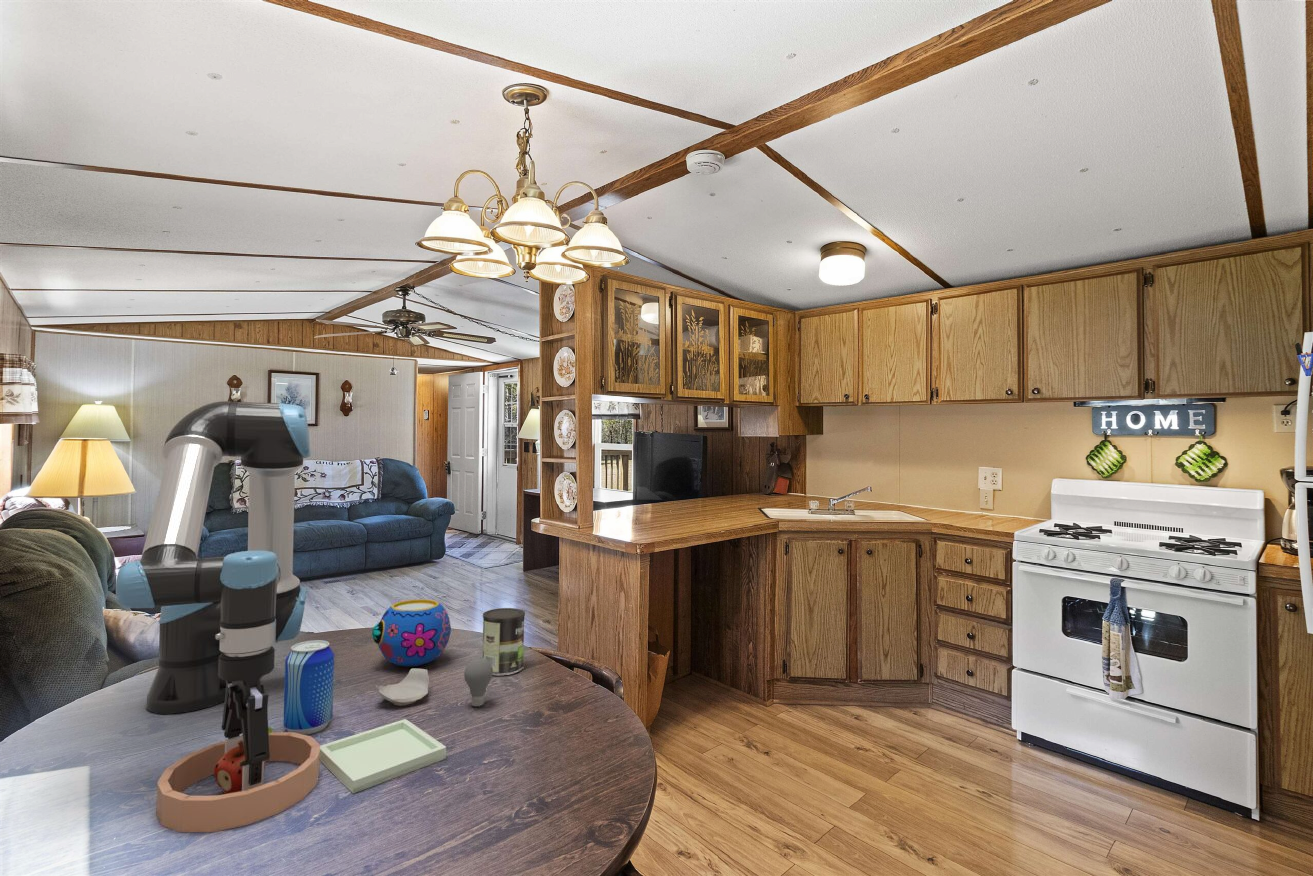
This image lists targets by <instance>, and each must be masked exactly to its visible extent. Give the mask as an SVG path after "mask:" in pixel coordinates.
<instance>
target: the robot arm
mask: <svg viewBox="0 0 1313 876" xmlns="http://www.w3.org/2000/svg"><path fill="white" fill-rule="evenodd" d="M306 412H307V411H306V410H305V409H304V407H302V406H300V405H297V404H288V403H282V402H279V403H278V402H253V401H252V402H249V401H247V402H246V401H230V400H229V401H227V400H225V401H224V400H222V401H214V402H210V403H207V404H204V405H202V406H200V407H198V408H196V409H194V410H192V411H191V412H189V413H188V414H186V415H185V416H183V417H182V418H180V420H179V421H178V422H177V423H176V424H175V425H174V426H173V427H172V429H171V430H170V431H169V433H168V435H167V436H166V439H165V441H164V445H163V449H162V456H163V458H164V460H165V461H166V463H165V466H164V470H163V474H162V477H161V482H160V485H159V490H158V491H157V492H158V493H157V496H156V501H155V503H154V508H153V512H152V516H151V519H150V524H149V526H148V530H147V534H146V539H145V541H144V545H143V549H142V553H141V558H140V560H138V559H137V560H135V561H128V562H125V563H123V564H122V565H121V567H120V568H119V569H118V572H117V575H116V576H117V577H116V582H115V597H116V601H117V604H118V606H120V607H121V608H124V609H155V608H159V607H160V613H159V614H160V616H159V617H160V618H159V620H158V624H159V643H158V644H159V645H158V668H157V671H156V674H155V676H154V678H153V681H152V683H151V685H150V688H149V690H148V693H147V695H146V705H145V708H146V710H147V711H148V712H151V713H154V714H167V715H169V714H181V713H187V712H193V711H198V710H202V709H206V708H210V707H212V706H216V705H218V704H220V703H222V702H223V712H222V719H221V728H220V729H221V730H222V731H224V733H223V737H224V738H225V739H224V741H225V754H226V753H227V752H228V751H229V750H231V749H233V748H235V747H237V746H239V745H238V742H239V741H240V740H242V741H243V743H244V744H243V745H244V752H245V761H243V762H241V763H240V766H241V767H242V766H243V771H242V791H246V790H249V789H252V788H255V787H258V786H261V785H264V784H265V783H264V781H265V779H264V777H265V768H264V761H265V760H268V759H269V758H270V753H269V734H268V727H269V720H268V719H269V717H268V704H269V703H268V702H269V694H268V692H267V691H266V692H265V689H264V684H261V679H262V678H263V677H265V676H266V675H268V674H271V672H272V671H273V670H274V669H275V654H276V653H275V651H276V649H275V647H273V646H274V645H275V644H276V643H278V642H285V641H290V640H293V639H296V637H298V635H299V634H300V632H301V628H302V623H303V619H304V612H305V604H306V599H307V587H304V586H300V585H301V583H300V582H301V580H300V579H299V578H298V576H296V575H294V574H293V568H294V567H293V566H294V565H293V563H294V530H295V529H294V527H295V526H294V521H295V487H296V485H295V484H296V473H297V471H298V470H300V469H301V468H302V467H303V466H304V459H307V458H310V457H311V452H312V451H311V445H310V444H311V443H310V442H311V441H310V433H309V431H310V430H309V423H308V419H307V413H306ZM223 457H236V458H237V457H238V458H239V457H240V467H241V468H243V469H244V470H245V471H247V473H248V517H247V518H248V522H247V523H248V524H247V525H248V526H247V527H248V530H247V531H248V532H247V533H248V534H247V550H245V551H237V552H233V553H230V554H229V553H228V554H227V555H225V556H220V557H219V556H217V557H214V556H213V557H198V554H199V549H200V543H201V538H202V533H203V529H204V524H205V523H204V522H205V518H206V513H207V507H208V501H209V497H210V492H211V491H210V490H211V486H212V480H213V476H214V470H215V467H216V466H218V465H219V464H220V463H221V461H222V459H223ZM265 762H266V761H265Z"/></svg>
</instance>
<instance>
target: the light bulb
mask: <svg viewBox="0 0 1313 876" xmlns="http://www.w3.org/2000/svg"><path fill="white" fill-rule="evenodd" d="M463 674H464V675H463V676H464V680H465V682H466V684H467V686H468V688H469V692H470V695H471V706H474V707H476V706H478V707H481V706H482V705H484V704H485V694H486V693H487V688H488V685H489V683H490V682H491V680H492V678H493V676H492V675H493V668H492V665H491V664H490V662H488V661H487V660H486V659H483V658H482V657H480V658H474V659H472V660H470V662H469V663H468V664H467V665H466V667H465V668H464V672H463Z"/></svg>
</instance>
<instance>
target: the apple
mask: <svg viewBox="0 0 1313 876" xmlns="http://www.w3.org/2000/svg"><path fill="white" fill-rule="evenodd" d="M274 730H275V728H272V727H269V726H268V734H270V733H271V732H274ZM243 744H244V743H243V741H242V740H240V741H239V742H238V745H239V746H237V747H235V748H233V749H231V750H229V751H228V752H227V753H226V754H224V755H223V756H222V757H221V758H220V759H219V761H218V762H217V763H216V765H215V768H214V774H213V775H214V776H213V777H214V779H215V782H216V783H217V785H218V786H219V787H220V789H221V790H222V792H223V793H224V794H229V793H235V792H240V791H242V771H243V766H242V767H241V766H240V763H241V762H243V761H245V752H244V745H243ZM265 766H266V761H264V769H265V768H266V767H265Z"/></svg>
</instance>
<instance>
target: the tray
mask: <svg viewBox="0 0 1313 876" xmlns="http://www.w3.org/2000/svg"><path fill="white" fill-rule="evenodd" d="M446 759H447V746H446V745H444V744H443V743H441V742H440V741H438V740H437V739H435V738H434V737H433V736H431V735H429V733H427V732H425V731H424V730H422V729H421V728H419V727H418V726H417V725H415V724H414V723H412V722H410V720H408V719H406V718H403V719H402V720H399V721H398V720H397V721H395V722H392V723H388V724H386V725H381V726H378V727H376V728H373V729H369V730H366V731H363V732H360V733H357V734H353V735H350V736H346V737H344V738H340V739H337V740H334V741H331V742H328V743H325V744H320V762H321V763H322V764H323V765H324V766H325V768H327V769H328V771H330V772H331V774H333V775H334V776H335V777H336V778H337V779H338V780H339V781H340V782H341V783H342V785H344V786H345V787H346V788H347V789H348V790H349V791H350V792H351V793H352V794H355V793H358V792H362V791H364V790H366V789H369V788H372V787H375V786H377V785H379V784H382V783H384V782H388V781H390V780H394V779H396V778H398V777H401V776H403V775H406V774H408V773H409V774H410V773H411V772H414V771H417V770H419V769H422V768H424V767H427V766H430V765H432V764H435V763H438V762H441V761H443V760H446Z"/></svg>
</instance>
